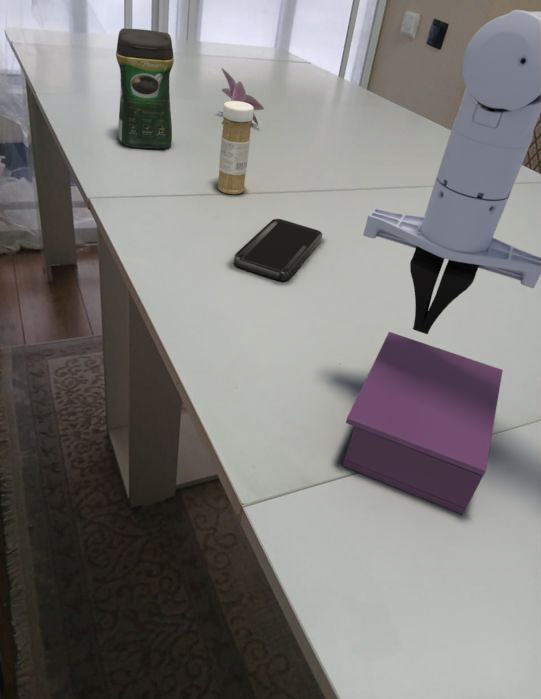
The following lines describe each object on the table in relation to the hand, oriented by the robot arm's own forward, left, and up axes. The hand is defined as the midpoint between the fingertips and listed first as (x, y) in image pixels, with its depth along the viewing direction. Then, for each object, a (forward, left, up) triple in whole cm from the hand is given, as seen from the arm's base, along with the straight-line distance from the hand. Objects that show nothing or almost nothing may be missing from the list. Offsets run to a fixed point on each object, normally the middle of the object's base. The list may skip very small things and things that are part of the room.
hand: (422, 326), depth 55 cm
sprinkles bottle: (+37, -37, -9) cm, 53 cm away
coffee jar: (+59, -46, -9) cm, 75 cm away
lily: (+52, -71, -9) cm, 88 cm away
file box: (-3, +4, -9) cm, 10 cm away
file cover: (-3, +4, -4) cm, 7 cm away
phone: (+22, -22, -9) cm, 32 cm away
